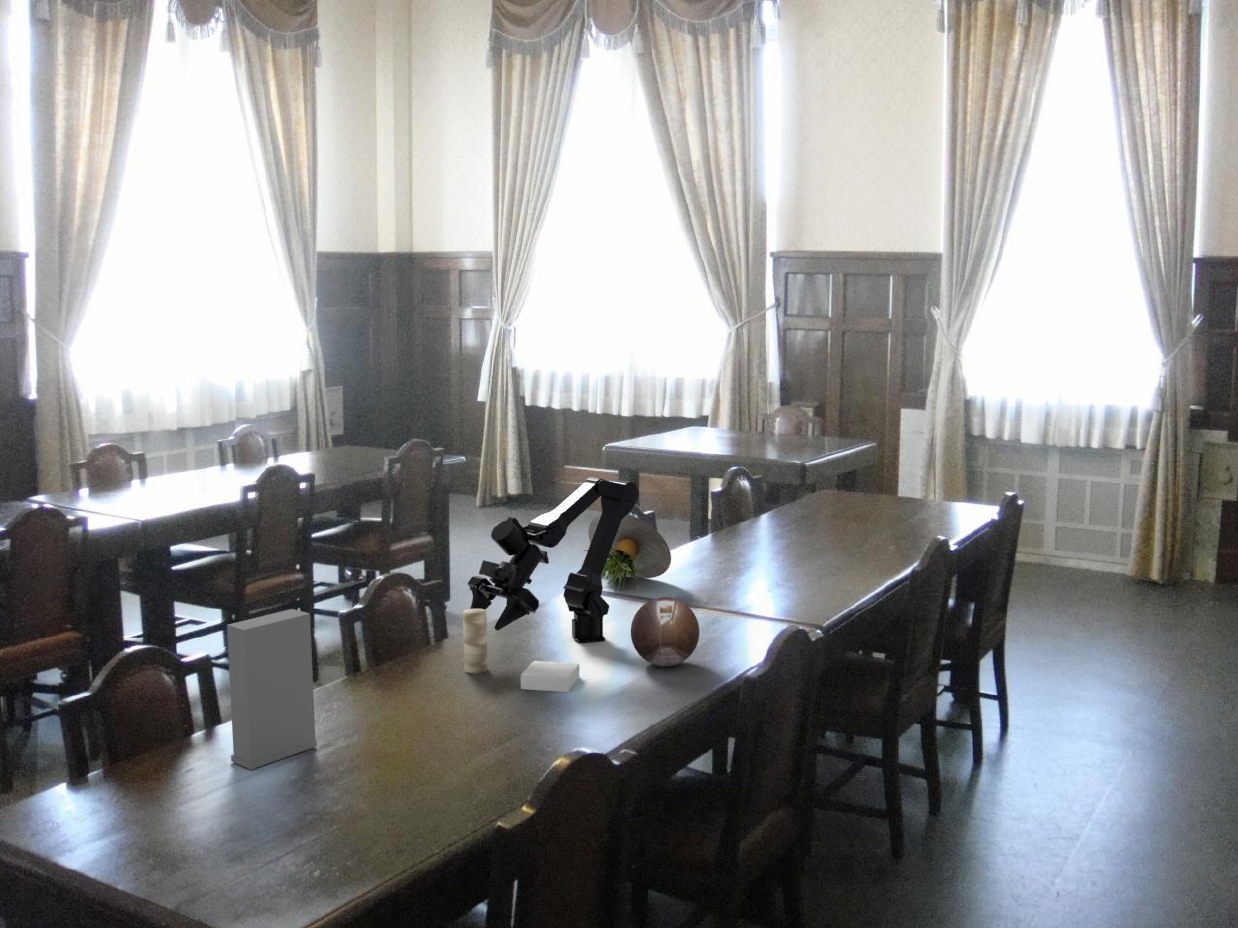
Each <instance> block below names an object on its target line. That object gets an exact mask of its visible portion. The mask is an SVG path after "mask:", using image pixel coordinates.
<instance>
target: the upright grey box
mask: <svg viewBox="0 0 1238 928" xmlns="http://www.w3.org/2000/svg"><path fill="white" fill-rule="evenodd" d="M311 632H312V629H311V613H309V612H305V611H302V610H297V609H294V608H290V609H286V610H282V611H278V612H273V613H271V614H270V613H269V614H265V615H262V616H258V617H255V618H250V619H246V620H241V621H238V622H233V623H229V624H226V634H227V653H228V669H229V670H228V672H229V691H230V711H231V730H232V750H233V751H232V752H233V754H231V755H230V760H231V762H232V763H233V764H236V765H239V766H241V767H244V768H247V769H249V771H254V770H255V769H256V768H259V767H262V766H265V765H268V764H270V763H273V762H276V761H279V760H282V759H285V758H288V757H290V756H293V755H296V754H299V753H302V752H304V751H308V750H313V749H314V748H316V747H317V745H318V744H317V743H318V742H317V740H316V725H315V724H316V722H315V704H314V703H315V700H314V699H315V698H314V677H313V674H314V673H313V672H314V671H313V657H312V656H313V655H312V633H311Z"/></svg>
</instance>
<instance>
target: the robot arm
mask: <svg viewBox="0 0 1238 928" xmlns="http://www.w3.org/2000/svg"><path fill="white" fill-rule="evenodd" d="M639 495H640V492H639V489H638V486H637V485H636V483H634V482H632V481H627V480H622V479H615V478H614V479H613V478H612V479H610V480H605V479H604V478H600V477H592V476H591V477H587V478H586V479H585V480H584V481H583V483H582V484H581V485H580V486H579V487H578V488H577V489H576V490H574V491H573V493H571V494H570V495H569V496H568V497H567V498H566V499H564V500H563V501H562V502H561V503H560V504H559V505H558V506H556V508H554V509H553V510H551V511H549V512H545V513H544V514H543V513H542V514H541V515H538V516H537V517H536V518H534V519H532V520H531V521H530V522H529V523H528V524H527V525H524V526H522V525H521V524H520V522H519V521H518V519H517V518H516V517H514V516H508V517H507V519H506V520H504V521H501V522H499V523H498V524H497V525H495V526H494V528H493V529H492V530H491V533H490V535H491V536H490V537H491V539H492V540H493V542H495V544H496V545H497V546H498V547H499V548H500V549H501V550H502V551H503V552H504V553H505V554H506V555H508V556H511V559H510V560H509V561H504V560H503V561H501V562H500V563H498V562H497V563H496V562H493V561H489V560H484V559H483V560H482V563H481V565H480V568H479V571H478V574H479V575H480V576H479V575H474V576H471V578H470V579H469V581H468V582H467V585H468V587H469V590H470V591H471V593H472V600H471V606H470V608H469V609H484V610H486V611H487V609H488V608H490V606H491V605H492V604H493V603H492V601H493V600H495V599H496V597H499V598H503V599H506V605H505V607H504V609H503V611H502V613H501V614H500V616H499V618H498V620H497V621H496V623H495V625H494V627H493V629H494V630H495V631H500V630H501V629H503V628H505V627H507V626H508V625H510V624H512V623H513V622H515V621H517V620H519V619H521V618H523V617H524V616H529V615H530V614H531V613H532V614H535V613H536V611H537V610H538V609H539V607H540V600H539V599H538V598H537V597H536V596H535V595H534V594H533V592H532V591H531V590H530V589H529V588H526V587H525V585H526V584H527V585H531V583H532V582H533V580H532V579H531V577H532V574H533V573H534V571H535V569H536V568H537V567H538V565H539V564H540V563H542V564H546V565H548V564H549V563H550V562H549V556H548V551H545V550H542V549H540V547H539V546H541V547H545V548H550V549H553V548H555V547H556V546H557V545H559V544H560V542H561V541H562V540H563V538H564V537H565V536H566V534H567V530H568V527H569V526H570V525H571V524H572V523H573V522H574V521H575V520H576V519H577V518H578V517H579V516H580V515H581V514H583V513H584V512H586V510H587V509H588V508H590V507H591V506H592V505H593V504H594V503H595V502H596V501H598V499H599V498H600V507H601V514H602V515H601V514H600V515H601V517H600V520H599V523H598V525H597V528H596V531H595V533H594V536H593V539H592V541H591V543H590V545H589V547H588V548H587V550H588V551H586V555H585V557H584V560H583V562H582V565H581V568H580V569H579V570H578V571H577V572H569V574H568V577H567V580H566V582H565V584H564V586H563V589H564V591H563V598H564V601H565V603H566V605H567V608H568V611H569V612H573V618H572V619H571V637H572V638H574V639H575V640H576V641H577V642H578V643H590V642H600V641H602V642H603V641H606V637H605V636H604V629H603V628H604V616H605V615H608V613H609V609H610V605H609V604H608V602H607V601H606V600H605V599H604V598H603V597H602V593H603V588H604V587H603V582H602V581H603V580H602V575H601V574H602V571H603V569H604V566H605V563H606V561H607V558H608V555H609V553H610V550H611V547H612V545H613V542H614V539H615V537H616V534H617V531H618V529H619V526H620V523H621V521H622V519H623V518H624V517H625V516H626V515H630V513H631V512H632V511H633V509H634V507H635V505H636V504H637V501H638V500H639ZM484 576H485V577H484ZM486 577H488V578H489V580H488V579H487V578H486ZM493 584H494V585H493Z"/></svg>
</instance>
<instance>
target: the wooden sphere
mask: <svg viewBox="0 0 1238 928" xmlns="http://www.w3.org/2000/svg"><path fill="white" fill-rule="evenodd" d="M630 637H631V638H630V639H631V642H632V645H633V648H634V649H635V651H636V652H637V654H638V655H639V656H640V657H641V658H642V659H643V660H644V661H645V662H647V663H649V664H652V665H654V666H657V667H664V668H665V667H672V666H677V665H679V664H681V663H683V662H684V661H686V660H687V659H688V658H689V657H690V656H691V655H692V654H693V653H694V652H695V650H696V648H697V646H698V643H699V639H700V625H699V621H698V618H697V616H696V614H695V612H694V611H693V610H692V608H691V607H689V606H688V605H687V603H684V602H683V601H681V600H679V599H678V598H677V599H676V598H674V597H666V596H663V597H661V596H660V597H656V598H653V599H650V600H648V601H647V602H645V603H644V604H643V605H642V606H640V607H639V608H638V610H637V611H636V613H635V614H634V616H633V619H632V621H631V626H630Z"/></svg>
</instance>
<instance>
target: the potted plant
mask: <svg viewBox="0 0 1238 928" xmlns="http://www.w3.org/2000/svg"><path fill="white" fill-rule="evenodd" d="M601 515H602V513H601V514H600V515H597V516H596V517H594V518H593V519H592V521H590V524H589V526H588V532H587V533H588V534H587V535H588V539H589V543H590V544H591V541H592V539H593V536H594V533H595V531H596V528H597V525H598V523H599V520H600V517H601ZM583 552H588V549H583ZM671 564H672V554H671V551H670V548H669V546H668V543H667V542H666V540H665V538H664V537H663V536H662V535H661V533H659V532H658V530H656V529H655V527H653V526H651V524H649V523H647V522H645V521H644V520H642V519H641V518H638V517H635V516H633V515H631V514H627V515H626V516H625V517H624V518H623V519H622V521H621V523H620V526H619V529H618V531H617V534H616V537H615V539H614V542H613V545H612V547H611V550H610V553H609V555H608V558H607V561H606V563H605V566H604V569H603V571H602V574H601V576H604V574H606V573H607V571H608V573H607V575H606V576H605V580H608V579H609V576H611V578H610V579H609V581H608V582H607V585H609V584H610V585H611V586H613V590H614V592H617V591H616V581H617V577H619V578H618V579H619V580H618V581H619V582H618V583H619V584H618V590H620V589H621V583H622V581H623V583H622V584H623V585H622V589H625V585H626V579H627V576H630V577H631V578H633V579H634V580H635V583H636V585H637V587H636V590H637V591H638V589H639V586H640V585H639V582H638V579H637V578H640V579H645V580H647V579H654V578H657V577H661V576H662V575H663V574H665V573H666V572H667V571H668V570H669V568H670V566H671Z"/></svg>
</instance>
